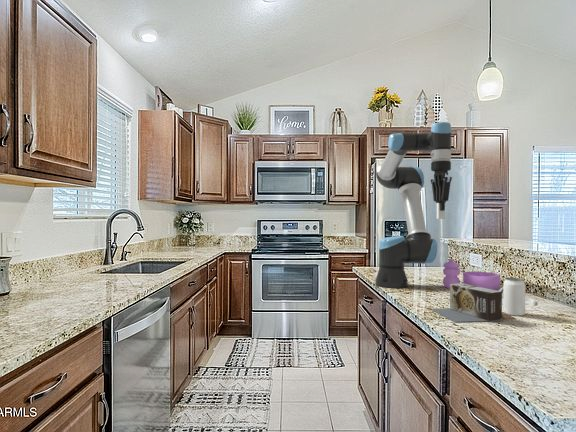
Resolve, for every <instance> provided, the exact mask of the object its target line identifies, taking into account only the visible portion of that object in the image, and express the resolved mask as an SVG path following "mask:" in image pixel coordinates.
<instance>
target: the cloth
mask: <svg viewBox="0 0 576 432" xmlns="http://www.w3.org/2000/svg"><path fill="white" fill-rule="evenodd" d="M503 288H504V286H502V287H500V290H498V291H501V292H502V305H503ZM536 303H537V302H536V300H535V299H533V298H526V297H525V306H531V307H535V306H536Z"/></svg>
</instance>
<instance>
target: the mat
mask: <svg viewBox="0 0 576 432" xmlns="http://www.w3.org/2000/svg"><path fill="white" fill-rule="evenodd" d="M431 311H432V312H434V313H436V314H438V315H440V316H442V317H444V318H446V319H447V320H449V321H451V322H453V323H459V324H460V323H485V322H487V323H488V322H503V319H502V318H501V319H496V320H489V321H488V320H485V319H482V318H478V317H475V316H472V315H468V314H465V313H462V312H458V311H455V310H451V309H450V307H449V308H431Z"/></svg>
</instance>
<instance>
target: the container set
mask: <svg viewBox="0 0 576 432" xmlns="http://www.w3.org/2000/svg"><path fill="white" fill-rule="evenodd" d="M443 267H444V268H443V269H442V273H443V275H445V276H444V277H443V279H442V285H443V286H444V287H445V288H447V289H450V284H459V283H461V281H460V278H459V277H458V276H459V275H460V273H461V271H460V269H459V268H460V264H459V263H457V262H455V259H453V258H449V259H448V261H447V262H445V263H444V264H443ZM462 283H464V284H469V285H473V286H478V287H482V288H487V289H491V290H496V291H499V290H500V289H501V285H500V284H501V274H499V273H495V272H488V271H463V272H462Z"/></svg>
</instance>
